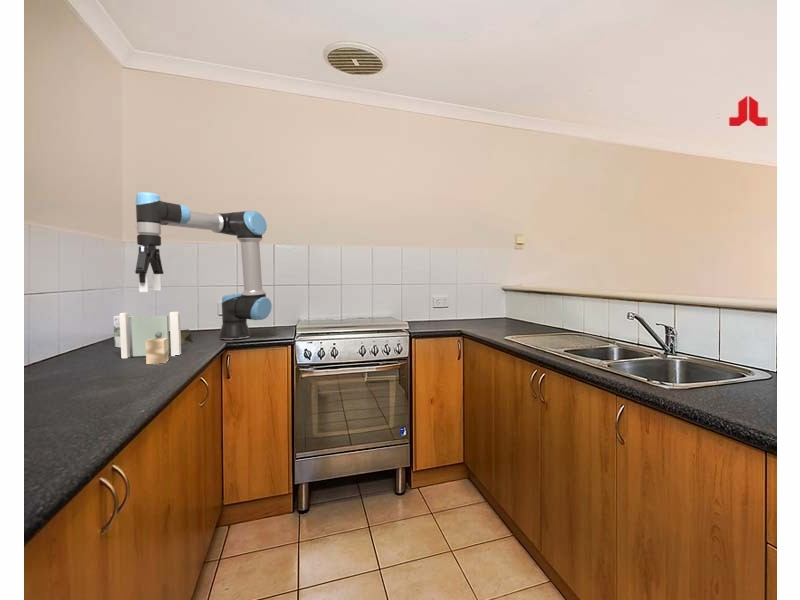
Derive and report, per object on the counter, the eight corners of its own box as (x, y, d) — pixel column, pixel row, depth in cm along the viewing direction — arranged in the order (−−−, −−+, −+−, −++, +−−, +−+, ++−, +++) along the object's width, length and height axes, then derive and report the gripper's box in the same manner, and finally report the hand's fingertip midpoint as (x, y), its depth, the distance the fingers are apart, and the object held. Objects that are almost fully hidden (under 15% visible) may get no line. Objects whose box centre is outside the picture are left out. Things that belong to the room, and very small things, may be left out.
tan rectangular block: (168, 360, 147) (167, 338, 146) (164, 363, 142) (163, 340, 141) (151, 361, 145) (150, 338, 144) (146, 364, 140) (145, 340, 140)
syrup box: (136, 345, 176) (134, 314, 175) (125, 348, 170) (124, 316, 169) (124, 345, 176) (123, 314, 175) (114, 348, 170) (112, 316, 169)
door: (169, 353, 157) (168, 315, 156) (166, 355, 153) (165, 316, 152) (131, 355, 153) (130, 316, 152) (128, 357, 150) (126, 317, 148)
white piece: (181, 354, 159) (179, 311, 157) (179, 355, 156) (177, 312, 155) (124, 356, 153) (122, 312, 152) (121, 358, 150) (119, 313, 149)
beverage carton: (192, 343, 184) (192, 330, 183) (145, 348, 172) (144, 333, 172) (190, 341, 190) (189, 328, 189) (144, 345, 178) (143, 331, 178)
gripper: (150, 237, 153) (151, 289, 154) (122, 230, 129) (125, 292, 130) (170, 238, 155) (172, 289, 156) (147, 231, 131) (149, 292, 132)
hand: (150, 291), depth 143 cm, fingers open, 13 cm apart
